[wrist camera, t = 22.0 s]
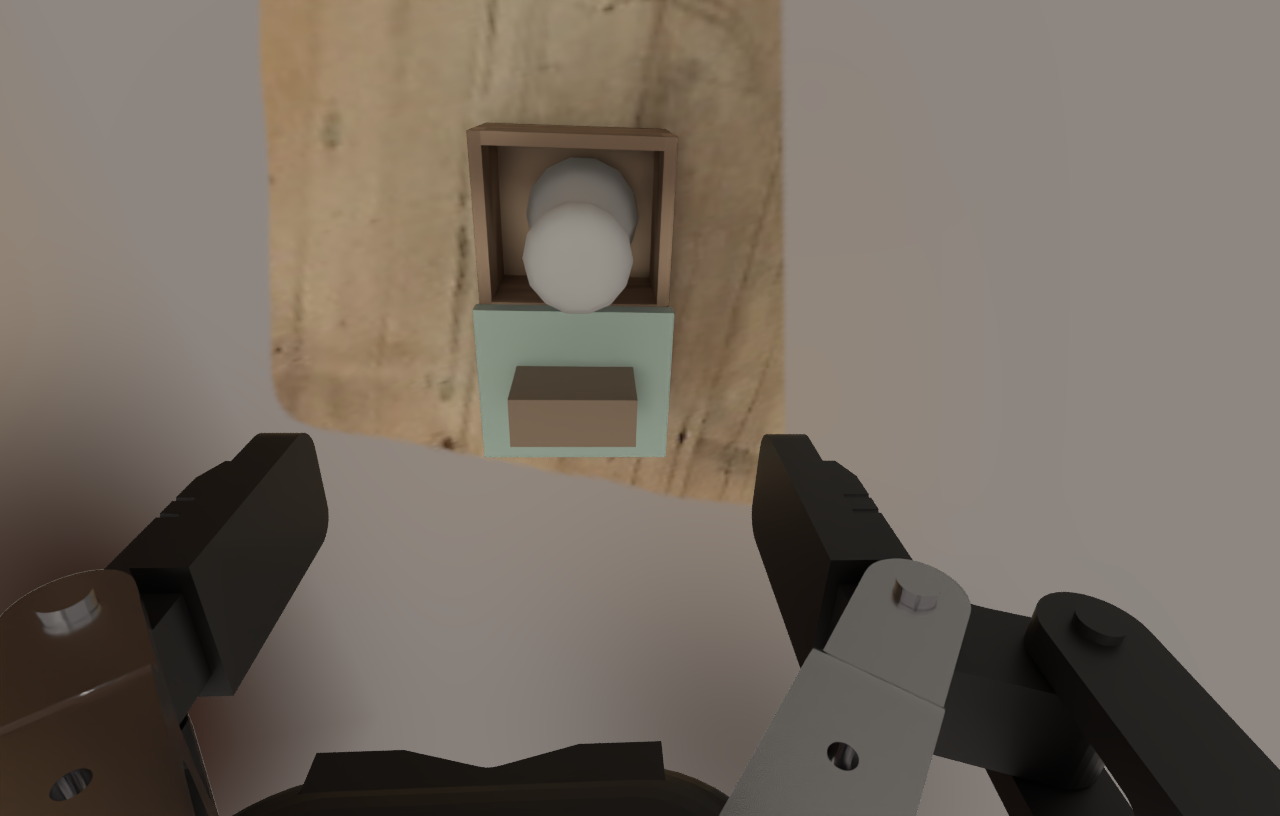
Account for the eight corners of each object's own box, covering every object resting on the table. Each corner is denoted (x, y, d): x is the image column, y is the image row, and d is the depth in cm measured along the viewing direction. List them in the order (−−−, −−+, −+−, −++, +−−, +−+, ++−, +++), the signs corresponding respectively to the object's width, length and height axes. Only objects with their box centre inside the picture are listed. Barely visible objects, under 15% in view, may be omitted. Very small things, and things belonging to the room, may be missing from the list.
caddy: (485, 122, 35) (466, 130, 29) (665, 129, 35) (678, 137, 30) (503, 402, 42) (490, 449, 37) (651, 403, 43) (660, 449, 37)
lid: (475, 304, 33) (457, 339, 28) (672, 307, 34) (684, 341, 29) (487, 447, 37) (472, 498, 32) (663, 447, 37) (673, 497, 33)
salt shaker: (653, 185, 36) (682, 235, 24) (607, 276, 38) (613, 362, 26) (556, 131, 34) (538, 157, 23) (513, 230, 36) (476, 299, 25)
